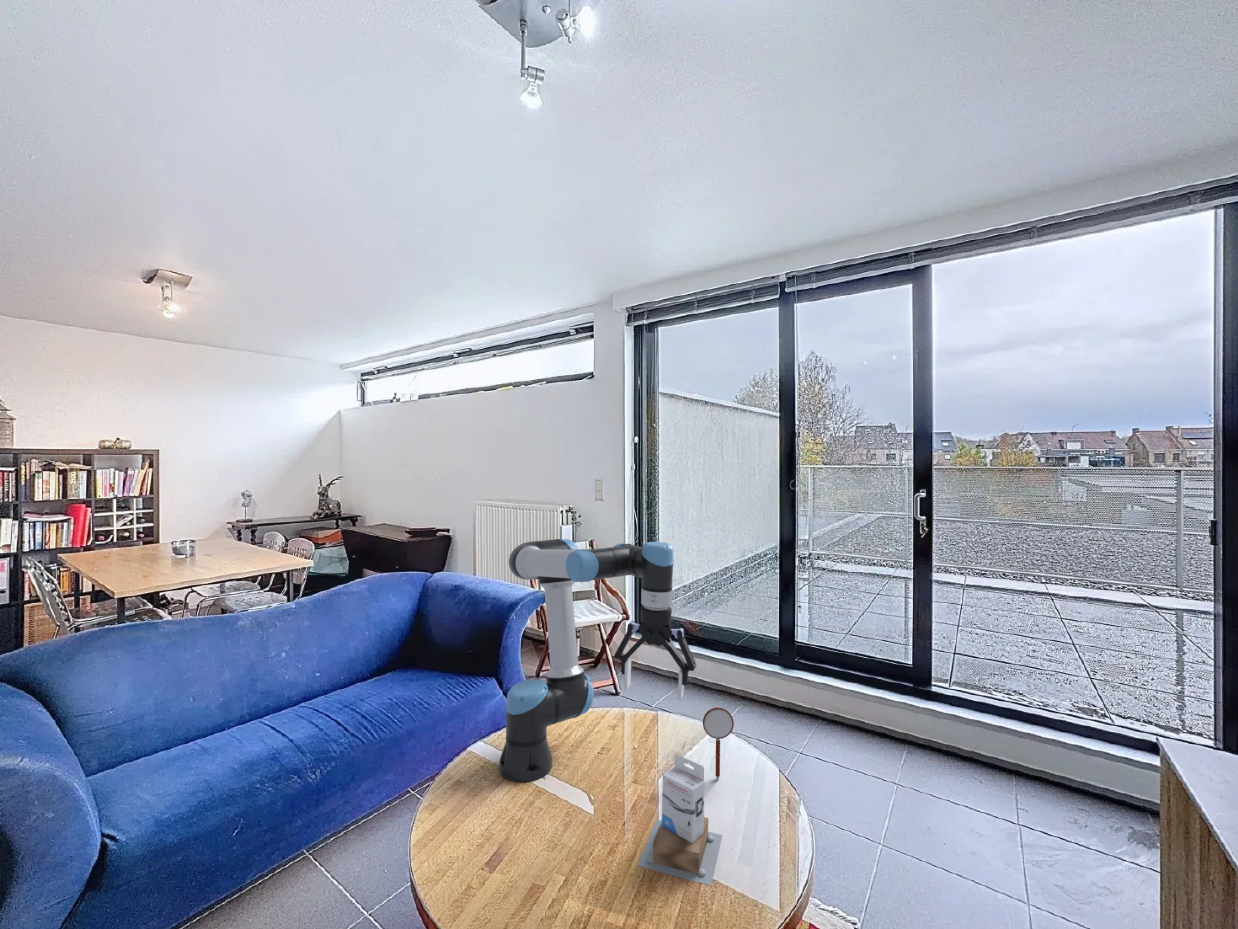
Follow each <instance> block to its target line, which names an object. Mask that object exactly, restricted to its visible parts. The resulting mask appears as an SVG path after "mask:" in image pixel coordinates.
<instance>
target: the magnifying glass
mask: <svg viewBox="0 0 1238 929" xmlns="http://www.w3.org/2000/svg"><path fill="white" fill-rule="evenodd" d="M734 723H735V722H734V718H733V715H732V714H731V713H730V711H728V710H727V709H725V708H722V707H713V708H711V709H709V710H707V712H706V713H705V714H704V715H703V719H702V726H703V730H704V732H705V733H706V735H708V737H710V738H712V739H715V778H716V780H720V777H721V739H725V738H727V737H728V736H729V735H730V734H731V733H732V731H734V730H733V729H734V725H735V724H734Z"/></svg>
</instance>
